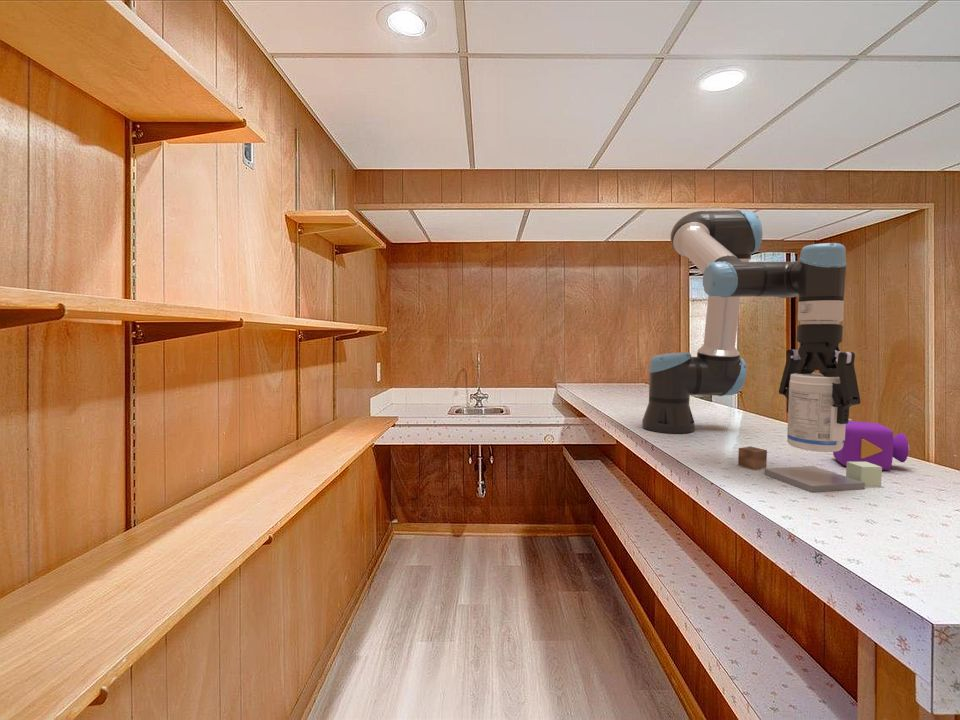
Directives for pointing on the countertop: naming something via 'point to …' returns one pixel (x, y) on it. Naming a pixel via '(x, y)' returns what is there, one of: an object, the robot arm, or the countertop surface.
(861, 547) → the countertop surface
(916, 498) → the countertop surface
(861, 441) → the toy camera
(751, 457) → the walnut block
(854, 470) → the pale green cube
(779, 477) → the slate coaster
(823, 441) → the supplement tub
